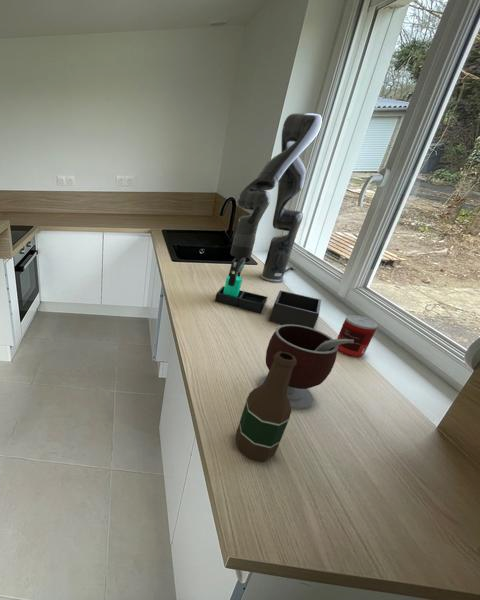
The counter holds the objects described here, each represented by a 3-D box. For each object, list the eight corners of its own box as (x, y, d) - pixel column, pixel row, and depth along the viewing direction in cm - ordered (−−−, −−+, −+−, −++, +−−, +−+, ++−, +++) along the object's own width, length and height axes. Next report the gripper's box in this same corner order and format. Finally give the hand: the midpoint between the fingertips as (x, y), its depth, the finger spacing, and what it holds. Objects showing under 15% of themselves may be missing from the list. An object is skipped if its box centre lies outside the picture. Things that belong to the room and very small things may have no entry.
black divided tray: (220, 294, 141) (222, 286, 139) (265, 305, 132) (267, 296, 130) (214, 301, 134) (216, 292, 133) (260, 313, 125) (263, 304, 123)
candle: (238, 304, 132) (245, 277, 127) (222, 303, 133) (229, 276, 128) (234, 298, 137) (241, 272, 132) (220, 297, 138) (226, 271, 133)
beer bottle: (227, 433, 72) (254, 344, 62) (259, 431, 73) (291, 343, 63) (246, 464, 65) (279, 370, 55) (282, 462, 66) (322, 368, 56)
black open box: (274, 307, 130) (280, 290, 127) (314, 317, 123) (321, 299, 120) (268, 321, 120) (274, 303, 116) (311, 333, 113) (319, 314, 109)
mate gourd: (249, 394, 84) (270, 328, 75) (262, 369, 94) (282, 308, 85) (320, 424, 75) (353, 354, 66) (326, 393, 85) (356, 328, 76)
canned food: (357, 346, 105) (371, 317, 101) (368, 360, 98) (383, 329, 94) (330, 342, 108) (342, 313, 103) (338, 355, 101) (352, 324, 96)
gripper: (249, 249, 117) (239, 290, 124) (257, 241, 128) (247, 279, 135) (228, 245, 121) (219, 285, 128) (237, 238, 132) (228, 275, 139)
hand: (233, 282), depth 131 cm, fingers open, 8 cm apart
